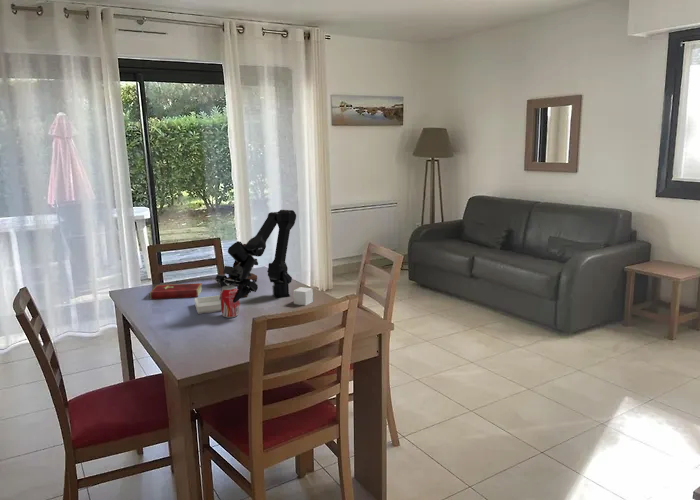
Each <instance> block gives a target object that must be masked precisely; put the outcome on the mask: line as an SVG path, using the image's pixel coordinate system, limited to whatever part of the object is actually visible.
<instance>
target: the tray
mask: <svg viewBox="0 0 700 500" xmlns="http://www.w3.org/2000/svg"><path fill="white" fill-rule="evenodd" d="M193 298H194V307H195V309H196V312H197V314H198V315H202V314H210V313H211V314H212V313H217V312H219V313H220V312H222V311H221V300H220V294H217V295H211V296H201V297H193Z"/></svg>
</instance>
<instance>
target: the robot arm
mask: <svg viewBox="0 0 700 500" xmlns="http://www.w3.org/2000/svg"><path fill="white" fill-rule="evenodd" d="M296 220H297V214H296V212H295V211H294V210H293V209H292V210H290V209H280V210H278V211H272V212H269V213H267V217H266V219H265V220H264V222H263V224H262V225H261V227H260V229H259V230H258V232H257V233H256V234H255V236H253V237H252V238H250V239H249V240H248V241H247V242H246V243H245V244H246V245H245V246H244V245H243V244H244V243H242V241H238V240H237V241H236V242H234V243H235V244H234V243H233V244H231V245H230V246H229V247H228V249H227V253H228V255H229V256H230V257H231V258H233V260H234V262H235V261H236V262H239V264H238V266H235V267H233V266H231V265H230V266H229V265H224V268H223V271H222V274H217V275H216V277H215V278H214V280H215V281H216V282H217V283H218V284H219V285H220V291H221V290H222V287H223V286H228V285H233V286H238V289H237V290H238V291H237V293H236V295H235V297H234V299H233V302H234V303H235V302H237V301H238V300H239V301H240V300H241V299H242V297H243V296H245V295H247V294H248V293H249V294H251V293H252V292H253V293H256V292H257V290H258V287H259V286H258V284H257V283H256V282H255V281H253V280H252V279H247V277H250V276H251V274H250V273H251V271H252V270H253V268H254V266H259V261H258V259H257V258H255V257H262V256H263V254H264V253H265V250H266V247H267V241H268V239H269V237H270V236H271V234H272V233H273V231H274V229H275V228H276V227H277V226H278V232H277V240H276V245H275V252H274V259H273V261H271V262H269V263H268V268H267V270H266V271H267V276H268V279H269V281H270V283H273V285H272V295H273V297H275V299H277V298H287V297H291V293H290V292H289V291H290V290H289V287H290V286H289V284H291V283H292V280H293V277H292V275H290V274H289V273H288V271H289V270H288V269H289V268H288V266H287V265H288V264H287V262H286V258H287V251H288V244H289V240H290V239H289V238H290V233H291V230H292V229H293V227H294V226H295V223H296ZM226 275H228V276H226ZM228 277H230V278H231V279H229V278H228ZM249 294H248V295H249ZM220 300H221V298H220Z"/></svg>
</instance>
